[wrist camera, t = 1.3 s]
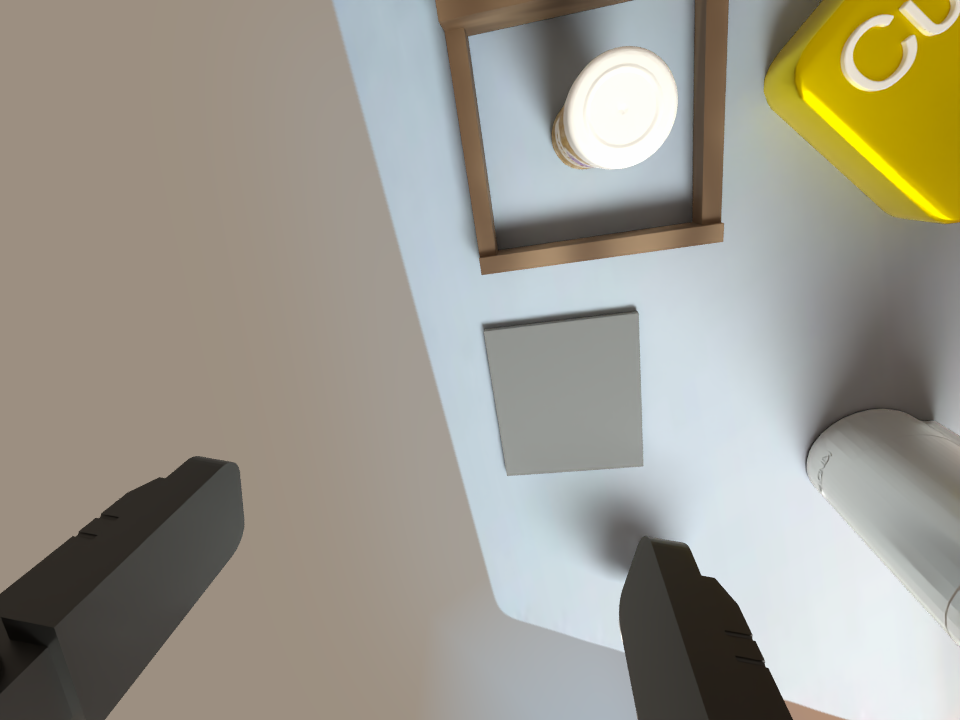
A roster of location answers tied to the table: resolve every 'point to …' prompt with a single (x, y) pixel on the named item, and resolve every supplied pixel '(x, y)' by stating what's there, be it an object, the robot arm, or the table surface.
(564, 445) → the mat
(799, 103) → the element tile
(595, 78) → the sprinkles bottle
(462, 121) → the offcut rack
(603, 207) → the table surface
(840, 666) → the table surface
